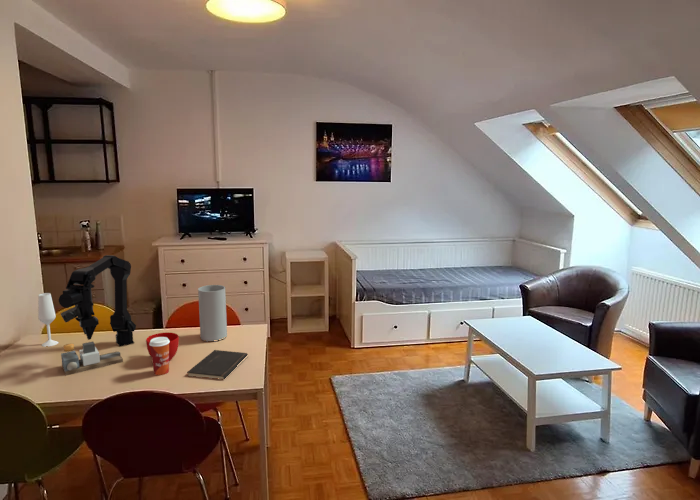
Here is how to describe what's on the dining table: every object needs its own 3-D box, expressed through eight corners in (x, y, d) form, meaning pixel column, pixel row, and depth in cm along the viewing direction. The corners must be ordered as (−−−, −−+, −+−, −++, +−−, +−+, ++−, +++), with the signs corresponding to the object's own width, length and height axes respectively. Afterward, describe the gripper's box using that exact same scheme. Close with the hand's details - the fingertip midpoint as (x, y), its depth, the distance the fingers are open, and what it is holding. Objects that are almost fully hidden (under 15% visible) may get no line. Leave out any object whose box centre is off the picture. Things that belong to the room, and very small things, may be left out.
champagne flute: (61, 341, 216) (56, 292, 212) (53, 346, 210) (47, 296, 205) (47, 341, 216) (41, 292, 212) (38, 346, 210) (32, 296, 205)
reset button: (73, 347, 188) (73, 342, 187) (74, 350, 185) (74, 345, 185) (63, 349, 186) (62, 344, 185) (64, 352, 183) (64, 347, 182)
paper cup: (159, 378, 180) (156, 344, 178) (147, 373, 184) (144, 340, 182) (175, 370, 187) (173, 338, 184) (164, 366, 191) (162, 334, 188)
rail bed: (117, 354, 202) (116, 341, 201) (123, 361, 194) (121, 348, 193) (62, 366, 189) (60, 353, 188) (65, 375, 181) (64, 361, 180)
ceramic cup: (163, 349, 209) (162, 328, 207) (185, 358, 199) (184, 336, 197) (136, 358, 198) (134, 336, 196) (158, 368, 188) (157, 345, 187)
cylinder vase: (222, 342, 217) (220, 291, 213) (196, 342, 217) (194, 291, 213) (230, 333, 230) (228, 285, 225) (205, 332, 230) (203, 284, 225)
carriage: (96, 356, 196) (94, 339, 194) (100, 362, 190) (98, 344, 188) (80, 359, 192) (78, 342, 191) (83, 366, 186) (81, 348, 185)
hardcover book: (187, 377, 182) (186, 372, 182) (214, 354, 205) (214, 349, 204) (224, 381, 179) (224, 376, 179) (248, 357, 202) (247, 353, 201)
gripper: (58, 298, 188) (61, 334, 191) (64, 309, 174) (68, 348, 177) (88, 294, 195) (91, 329, 198) (97, 304, 181) (100, 341, 184)
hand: (87, 336), depth 189 cm, fingers open, 7 cm apart
